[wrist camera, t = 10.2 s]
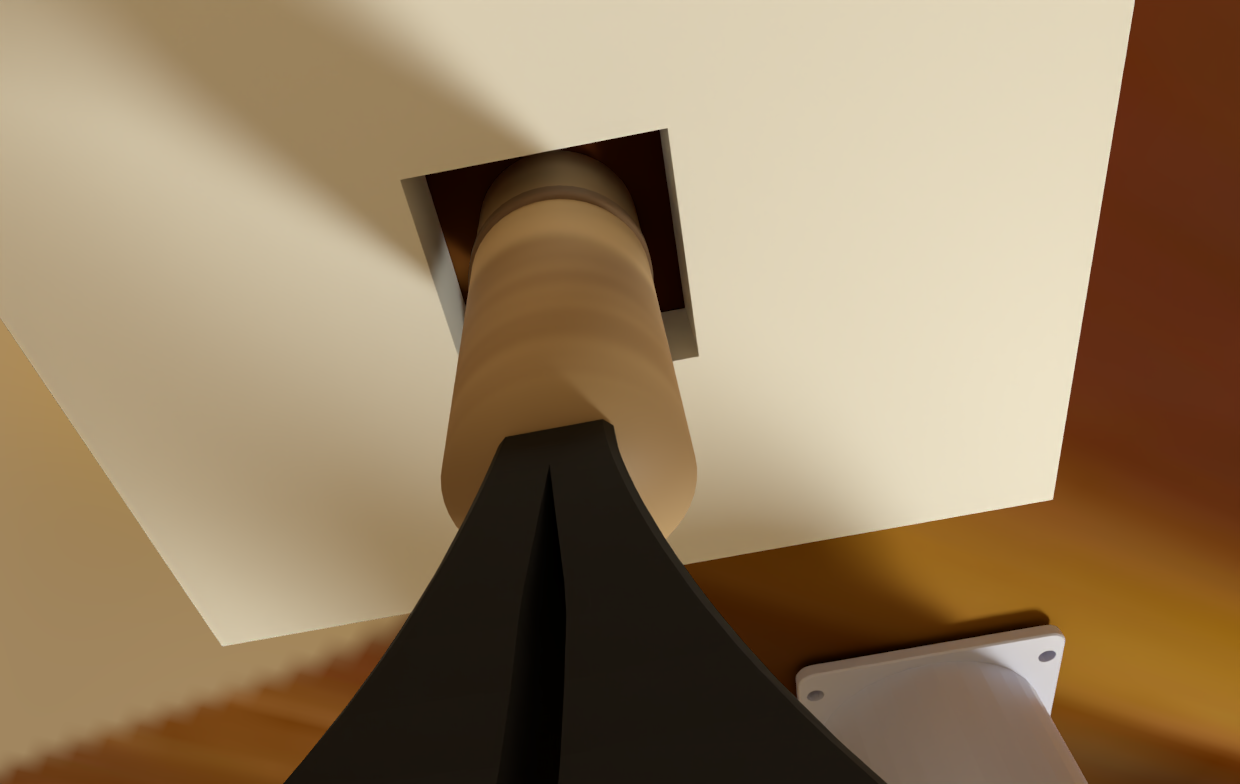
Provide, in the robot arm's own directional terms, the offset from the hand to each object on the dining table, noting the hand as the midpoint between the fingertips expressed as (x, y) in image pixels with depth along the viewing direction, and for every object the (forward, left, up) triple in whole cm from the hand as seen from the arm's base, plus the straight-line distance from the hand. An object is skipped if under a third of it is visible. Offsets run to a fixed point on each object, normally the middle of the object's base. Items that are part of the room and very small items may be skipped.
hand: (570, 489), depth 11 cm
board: (0, 0, -8) cm, 8 cm away
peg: (0, 0, -8) cm, 8 cm away
